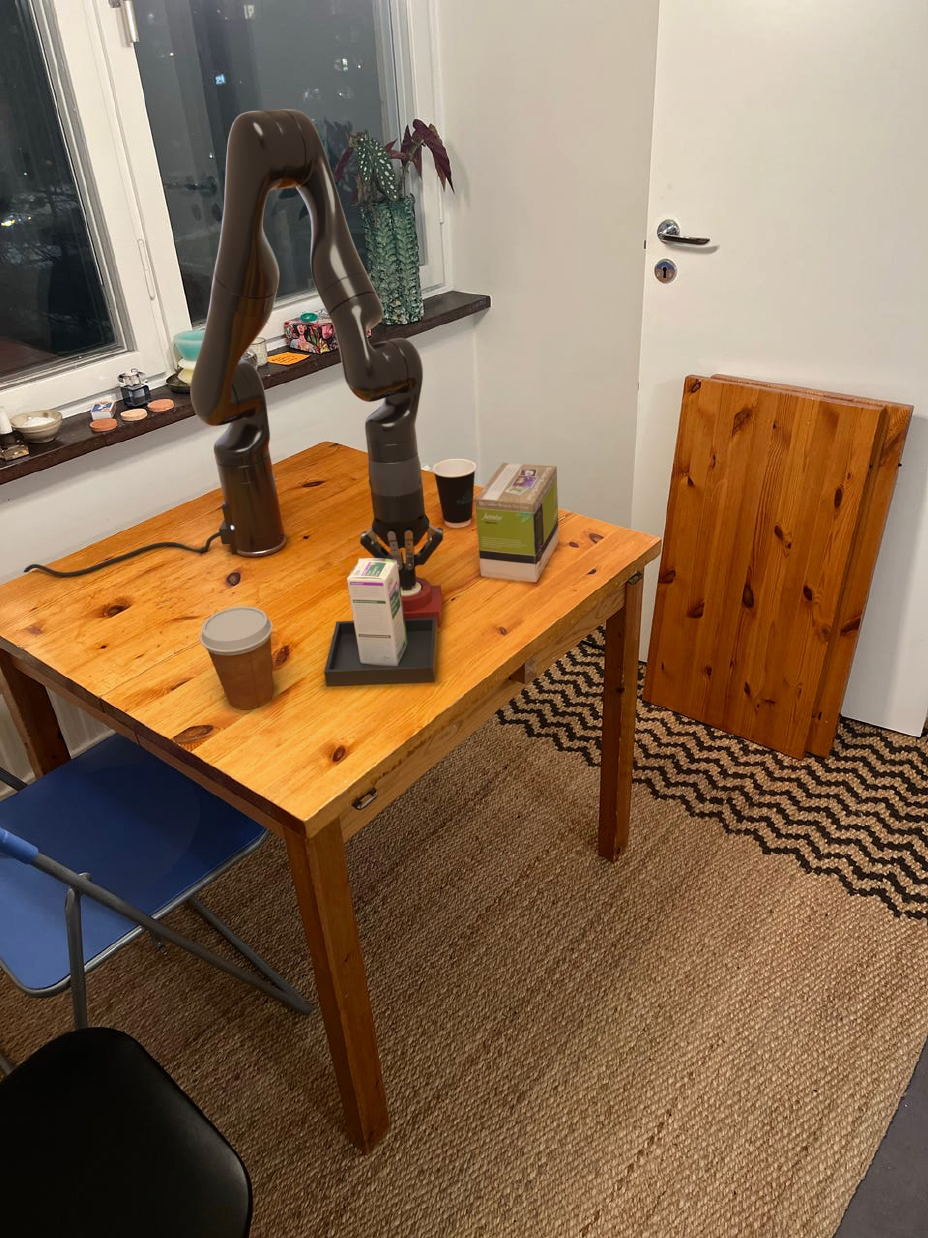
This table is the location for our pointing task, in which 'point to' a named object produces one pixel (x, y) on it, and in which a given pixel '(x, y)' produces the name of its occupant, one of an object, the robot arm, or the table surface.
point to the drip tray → (410, 669)
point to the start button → (414, 591)
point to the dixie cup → (455, 490)
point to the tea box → (517, 522)
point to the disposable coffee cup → (241, 654)
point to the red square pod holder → (424, 602)
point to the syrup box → (377, 611)
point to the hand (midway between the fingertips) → (407, 587)
